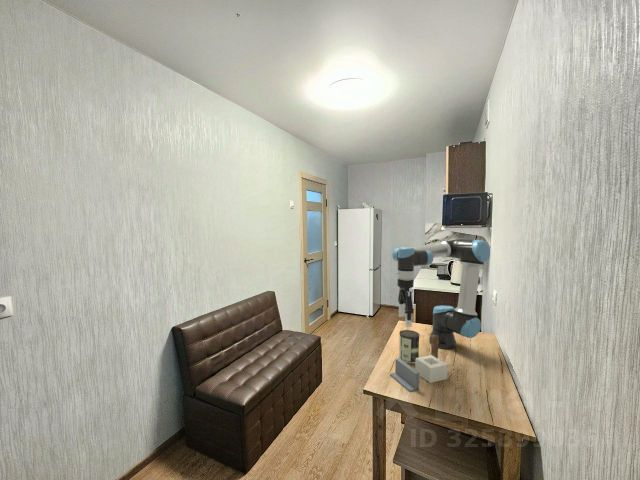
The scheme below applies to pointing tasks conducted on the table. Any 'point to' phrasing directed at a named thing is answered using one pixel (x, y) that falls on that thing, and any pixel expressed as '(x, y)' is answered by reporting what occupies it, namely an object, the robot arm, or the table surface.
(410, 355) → the coffee can
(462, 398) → the table surface
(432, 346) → the dowel
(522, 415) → the table surface
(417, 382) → the wall
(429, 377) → the block
